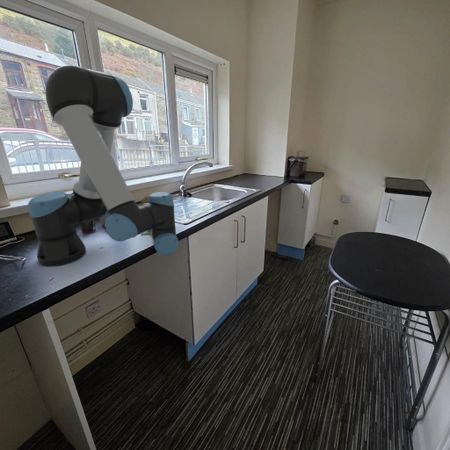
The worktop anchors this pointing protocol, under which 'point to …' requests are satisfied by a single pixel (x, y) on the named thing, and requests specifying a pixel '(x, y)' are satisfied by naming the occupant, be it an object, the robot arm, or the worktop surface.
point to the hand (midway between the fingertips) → (154, 210)
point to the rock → (144, 201)
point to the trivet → (146, 232)
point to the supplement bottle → (88, 227)
